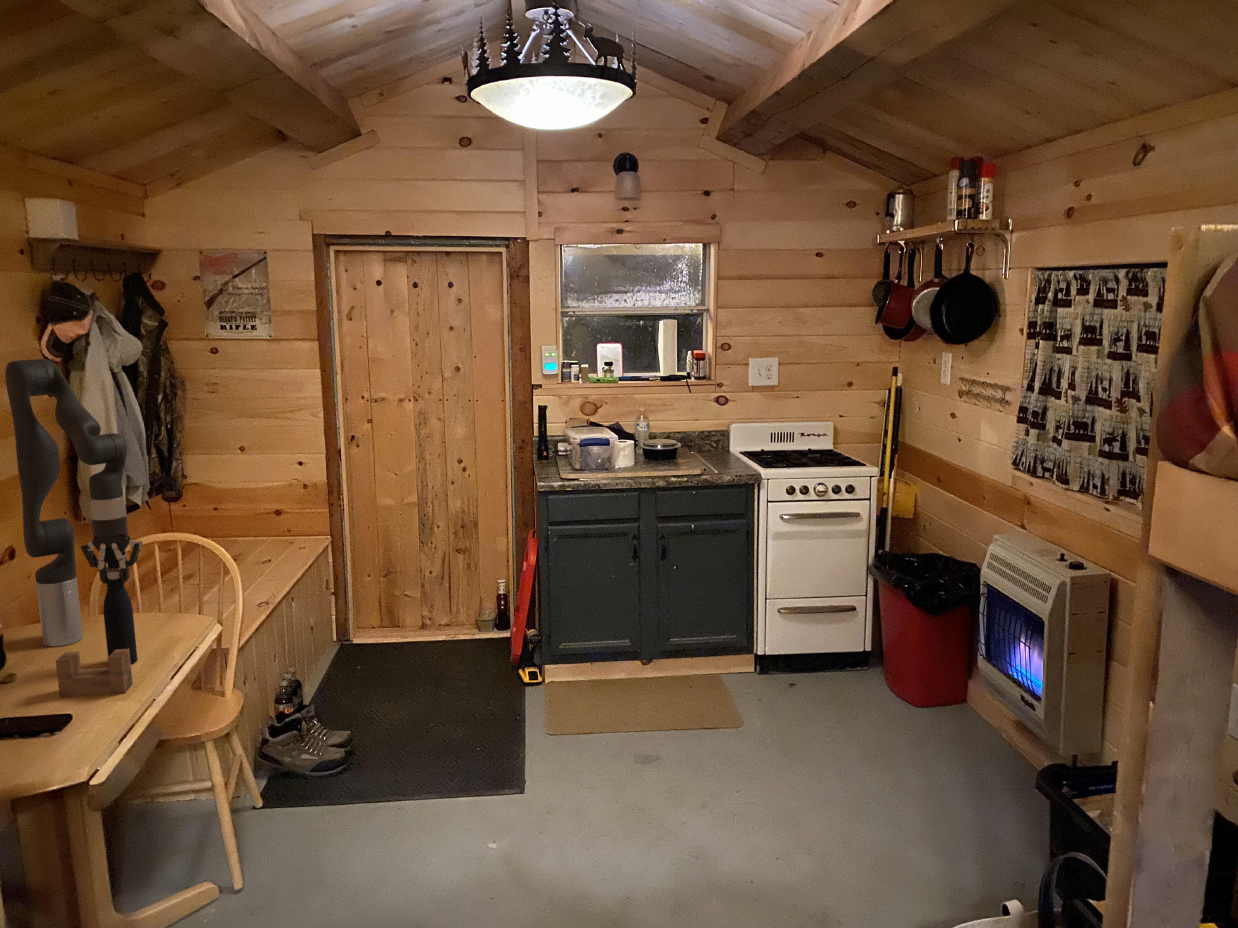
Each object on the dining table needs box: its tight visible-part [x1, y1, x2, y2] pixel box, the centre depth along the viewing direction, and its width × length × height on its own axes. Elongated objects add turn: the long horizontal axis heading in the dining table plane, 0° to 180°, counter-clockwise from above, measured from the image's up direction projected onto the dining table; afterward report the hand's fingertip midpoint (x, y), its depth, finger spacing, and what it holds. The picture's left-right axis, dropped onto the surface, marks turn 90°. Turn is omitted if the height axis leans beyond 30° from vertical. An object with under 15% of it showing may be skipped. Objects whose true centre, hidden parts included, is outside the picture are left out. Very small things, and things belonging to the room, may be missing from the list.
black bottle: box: [102, 550, 138, 666], centre depth 226 cm, size 6×6×30 cm
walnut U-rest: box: [55, 649, 134, 698], centre depth 211 cm, size 5×14×9 cm, turn 100°
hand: (115, 581), depth 224 cm, fingers closed on black bottle, 3 cm apart
